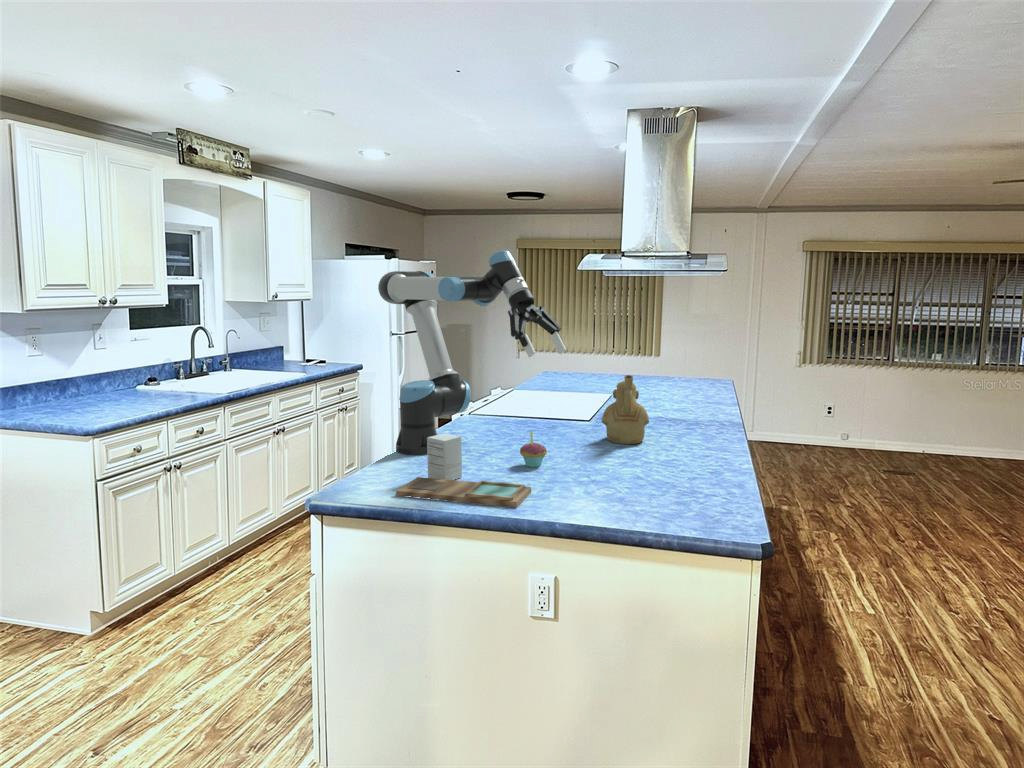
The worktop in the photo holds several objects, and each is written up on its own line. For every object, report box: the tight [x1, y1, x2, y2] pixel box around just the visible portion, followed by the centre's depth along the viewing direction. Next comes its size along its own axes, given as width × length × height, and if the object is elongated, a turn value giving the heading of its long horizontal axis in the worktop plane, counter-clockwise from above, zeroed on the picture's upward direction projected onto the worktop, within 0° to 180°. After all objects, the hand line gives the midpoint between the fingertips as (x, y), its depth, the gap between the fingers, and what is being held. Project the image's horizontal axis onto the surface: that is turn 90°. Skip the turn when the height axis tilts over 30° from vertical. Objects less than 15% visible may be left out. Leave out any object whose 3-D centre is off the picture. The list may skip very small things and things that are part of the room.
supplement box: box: [426, 432, 463, 480], centre depth 208 cm, size 7×7×13 cm
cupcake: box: [519, 429, 548, 468], centre depth 223 cm, size 9×8×12 cm
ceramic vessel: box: [601, 374, 650, 445], centre depth 256 cm, size 17×20×25 cm
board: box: [395, 476, 532, 509], centre depth 193 cm, size 34×14×2 cm, turn 73°
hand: (548, 353), depth 214 cm, fingers open, 13 cm apart
